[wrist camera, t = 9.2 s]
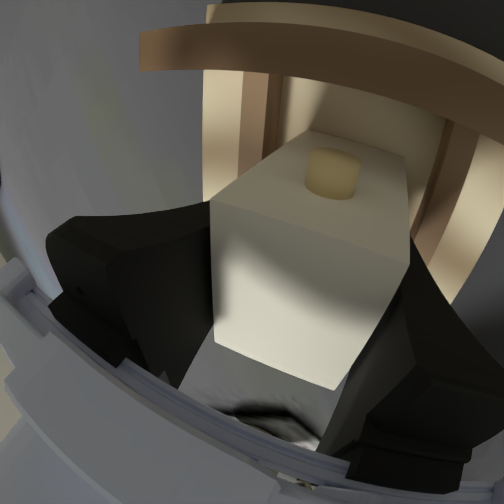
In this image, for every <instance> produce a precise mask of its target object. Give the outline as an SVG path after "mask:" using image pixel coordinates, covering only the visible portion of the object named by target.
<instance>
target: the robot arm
mask: <svg viewBox="0 0 504 504" xmlns="http://www.w3.org/2000/svg"><path fill="white" fill-rule="evenodd" d="M46 251H47V255H48V258H49V260H50V263H51V265H52V268H53V270H54V272H55V274H56V276H57V279H58V281H59V283H60V285H61V287H62V289H63V292H62V293H61V294H60V295H59V296H58V297H57V298H56V299H54V300H52V299H51V298H49V297H48V296H47V295H46V294H45V293H44V292H43V291H42V290H41V289H40V288H39V287H37V286H36V282H35V280H34V278H33V276H32V274H31V272H30V271H29V269H28V268H27V267H26V266H25V265H24V264H23V263H22V262H21V261H20V260H19V259H18V258H17V257H14V258H13V259H11V260H10V261H9V262H8V263H7V264H5V265H4V266H3V267H2V268H1V269H0V347H1V348H2V350H3V352H4V353H5V355H6V357H7V358H8V360H9V362H10V363H11V365H12V366H13V368H14V370H13V371H12V372H11V373H10V374H9V375H8V376H7V377H6V378H5V380H4V382H5V390H6V392H7V393H8V395H9V396H10V398H11V399H12V401H13V403H14V405H15V406H16V407H17V409H18V410H19V411H20V412H21V414H22V415H23V416H22V417H21V419H20V420H19V421H18V422H17V423H16V424H15V426H14V427H13V428H12V429H11V431H10V432H9V433H8V434H7V435H6V437H5V438H4V439H3V441H2V442H1V443H0V504H504V478H501V479H499V480H497V481H496V482H472V481H461V476H462V471H463V465H464V463H468V462H469V461H470V460H471V455H472V448H474V447H476V446H478V445H479V444H481V443H483V442H485V441H486V440H488V439H490V438H492V437H493V436H495V435H497V434H498V433H499V432H501V431H502V430H503V429H504V369H503V368H502V367H501V366H500V365H499V364H498V363H497V362H496V361H495V360H494V359H493V358H492V357H491V355H490V354H489V353H488V352H487V351H486V350H485V349H484V347H483V346H482V345H481V344H480V343H479V342H478V341H477V339H476V338H475V337H474V336H473V335H472V333H471V332H470V331H469V330H468V328H467V327H466V326H465V324H464V323H463V322H462V320H461V319H460V318H459V317H458V315H457V314H456V312H455V311H454V310H453V308H452V307H451V305H450V304H449V302H448V301H447V299H446V298H445V296H444V295H443V293H442V292H441V290H440V289H439V287H438V285H437V284H436V282H435V280H434V278H433V277H432V275H431V273H430V272H429V270H428V268H427V266H426V264H425V263H424V261H423V259H422V257H421V255H420V253H419V251H418V249H417V247H416V245H415V243H414V241H413V239H412V237H411V235H410V265H409V267H408V269H407V271H406V273H405V275H404V277H403V279H402V281H401V283H400V285H399V287H398V288H397V290H396V292H395V294H394V296H393V298H392V300H391V302H390V303H389V305H388V307H387V309H386V311H385V312H384V314H383V316H382V318H381V319H380V321H379V323H378V324H377V326H376V328H375V329H374V331H373V333H372V334H371V336H370V338H369V339H368V341H367V343H366V344H365V346H364V347H363V349H362V350H361V352H360V354H359V355H358V357H357V358H356V360H355V361H354V363H353V364H352V366H351V369H350V372H349V375H348V378H347V380H346V383H345V386H344V388H343V391H342V394H341V396H340V399H339V401H338V404H337V406H336V408H335V411H334V413H333V415H332V418H331V420H330V422H329V424H328V427H327V429H326V431H325V433H324V435H323V437H322V439H321V441H320V443H319V445H318V447H317V449H316V451H312V450H309V449H306V448H303V447H301V446H298V445H295V444H292V443H290V442H287V441H284V440H282V439H279V438H277V437H274V436H272V435H269V434H267V433H264V432H262V431H260V430H257V429H255V428H253V427H250V426H248V425H246V424H244V423H241V422H239V421H237V420H235V419H233V418H231V417H229V416H226V415H224V414H222V413H220V412H218V411H216V410H214V409H212V408H210V407H208V406H206V405H205V404H203V403H201V402H199V401H197V400H195V399H193V398H191V397H190V396H188V395H186V394H184V393H182V392H181V391H179V390H178V388H179V386H180V384H181V382H182V380H183V378H184V376H185V374H186V372H187V370H188V368H189V366H190V365H191V363H192V361H193V359H194V357H195V355H196V354H197V352H198V350H199V348H200V346H201V344H202V343H203V341H204V339H205V338H206V336H207V334H208V332H209V331H210V329H211V327H212V326H213V324H214V319H213V298H212V273H211V240H210V200H208V201H205V202H202V203H198V204H194V205H190V206H185V207H180V208H176V209H170V210H164V211H157V212H150V213H143V214H133V215H120V216H75V217H73V218H71V219H69V220H68V221H66V222H65V223H63V224H62V225H60V226H59V227H58V228H56V229H55V230H53V231H52V232H51V233H49V234H48V236H47V237H46ZM264 466H265V467H264ZM266 467H267V468H270V469H273V470H275V471H278V472H281V473H283V474H286V475H289V476H292V477H295V478H298V479H301V480H304V481H307V482H310V483H313V484H317V485H319V486H317V487H316V488H315V490H314V491H313V490H310V489H307V488H304V487H302V486H299V485H297V484H294V483H292V482H289V481H287V480H284V479H282V478H280V477H277V476H275V474H274V472H272V471H271V470H269V469H267V468H266Z"/></svg>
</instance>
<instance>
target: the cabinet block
mask: <svg viewBox="0 0 504 504" xmlns="http://www.w3.org/2000/svg"><path fill="white" fill-rule="evenodd" d="M210 240H211V273H212V298H213V319H214V337H215V342H217V343H219V344H221V345H223V346H225V347H227V348H229V349H232V350H234V351H236V352H238V353H241V354H243V355H245V356H247V357H250V358H252V359H254V360H257V361H259V362H261V363H264V364H266V365H268V366H271V367H273V368H276V369H278V370H281V371H283V372H286V373H288V374H291V375H293V376H296V377H298V378H301V379H304V380H306V381H309V382H312V383H314V384H317V385H320V386H323V387H325V388H328V389H331V390H335V389H336V387H337V386H338V385H339V383H340V382H341V380H342V379H343V377H344V376H345V375H346V373H347V372H348V370H349V369H350V367H351V366H352V364H353V363H354V361H355V360H356V358H357V357H358V355H359V354H360V352H361V350H362V349H363V347H364V346H365V344H366V343H367V341H368V339H369V338H370V336H371V334H372V333H373V331H374V329H375V328H376V326H377V324H378V323H379V321H380V319H381V318H382V316H383V314H384V312H385V311H386V309H387V307H388V305H389V303H390V302H391V300H392V298H393V296H394V294H395V292H396V290H397V288H398V287H399V285H400V283H401V281H402V279H403V277H404V275H405V273H406V271H407V269H408V267H409V265H410V229H409V207H408V192H407V181H406V171H405V162H404V157H402V156H399V155H396V154H393V153H390V152H387V151H384V150H381V149H377V148H374V147H371V146H368V145H364V144H361V143H357V142H354V141H350V140H347V139H343V138H339V137H336V136H332V135H328V134H324V133H320V132H315V131H311V130H305V131H304V132H302V133H301V134H299V135H298V136H296V137H295V138H293V139H292V140H290V141H289V142H287V143H286V144H285V145H283V146H282V147H280V148H279V149H277V150H276V151H274V152H273V153H272V154H270V155H269V156H267V157H266V158H265V159H263V160H262V161H260V162H259V163H258V164H256V165H255V166H253V167H252V168H251V169H249V170H248V171H246V172H245V173H244V174H242V175H241V176H240V177H238V178H237V179H236V180H234V181H233V182H232V183H230V184H229V185H228V186H226V187H225V188H224V189H222V190H221V191H220V192H218V193H217V194H216V195H214V196H213V197H212V198H210Z"/></svg>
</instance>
